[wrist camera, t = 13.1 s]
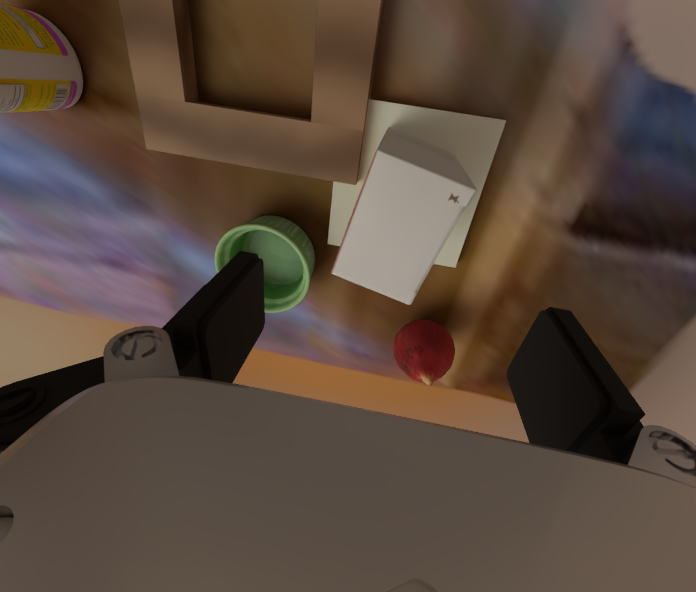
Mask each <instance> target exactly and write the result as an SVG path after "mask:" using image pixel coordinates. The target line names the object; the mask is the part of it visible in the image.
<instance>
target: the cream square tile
mask: <svg viewBox="0 0 696 592" xmlns="http://www.w3.org/2000/svg"><path fill="white" fill-rule="evenodd" d="M505 123H506V120H503V119H496V118H490V117H483V116H477V115H470V114H464V113H457V112H451V111H444V110H438V109H432V108H425V107H419V106H412V105H406V104H399V103H393V102H386V101H380V100H373V99H369V102H368V110H367V117H366V124H365V131H364V138H363V145H362V153H361V160H360V167H359V174H358V181H357V184H356V185H351V184H346V183H340V182H334V183H333V193H332V203H331V213H330V223H329V233H328V243H327V244H331V245H336V246H340V245H341V243H342V240H343V237H344V234H345V231H346V228H347V226H348V223H349V220H350V217H351V215H352V212H353V209H354V207H355V204H356V201H357V199H358V196H359V194H360V191H361V188H362V186H363V183H364V181H365V178H366V175H367V173H368V170H369V168H370V165H371V162H372V160H373V157H374V155H375V152H376V150H377V148H378V146H379V144H380V142H381V140H382V138H383V136H384V134H385V133H386V130H387V129H388V127H391V128H394V129H396V130H399V131H401V132H403V133H406V134H408V135H410V136H413V137H415V138H417V139H420V140H422V141H424V142H427V143H429V144H432V145H434V146H436V147H438V148H441V149H443V150H445V151H448V152H450V153H453V154H454V155H455V156H456V158H457V160H458V161H459V163H460V164H461V166H462V167H463V169H464V170H465V172H466V173H467V175H468V176H469V178H470V179H471V181H472V182H473V184H474V185H475V187H476V189H477V192H476V194H475V195H474V197H473V198H472V200H471V202H470V203H469V205H468V206H467V208H466V209H465V211H464V212H463V214H462V215H461V217H460V219H459V220H458V222H457V224H456V225H455V227H454V229H453V230H452V232H451V234H450V236H449V237H448V239H447V241H446V242H445V244H444V246H443V248H442V249H441V251H440V253H439V255H438V256H437V258H436V260H435V262H434V263H433V264H438V265H443V266H449V267H454V268H455V267H456V264H457V261H458V259H459V256H460V253H461V250H462V247H463V244H464V241H465V238H466V235H467V233H468V230H469V227H470V224H471V221H472V218H473V215H474V212H475V209H476V207H477V204H478V201H479V198H480V195H481V192H482V189H483V186H484V184H485V181H486V178H487V175H488V172H489V169H490V166H491V163H492V160H493V158H494V155H495V152H496V149H497V146H498V143H499V140H500V137H501V135H502V132H503V129H504V126H505Z"/></svg>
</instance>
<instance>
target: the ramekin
mask: <svg viewBox="0 0 696 592" xmlns="http://www.w3.org/2000/svg"><path fill="white" fill-rule="evenodd" d="M239 251H245V252H251V253H256V254H258V257H259V258H260V259H263V264H264V306H265V312H273V313H274V312H282V311H286V310H289V309H291V308H293V307H295V306H296V305H298V304H299V303H300V302H301V301H302V300H303V299H304V297H305V296H306V294H307V292H308V289H309V286H310V280H311V275H312V273H313V270H314V265H315V253H314V249H313V245H312V243H311V241H310V239H309V238H308V236H307V235H306V233H305V232H304V231H303V230H302V229H301V228H300V227H299V226H297V225H296V224H295V223H293V222H291V221H290V220H287V219H285V218H282V217H278V216H270V215H267V216H261V217H258V218H255V219H253V220H251V221H249V222H247V223H246V224H242V225H239V226H237V227H234V228H233V229H231V230H229V231H228V232H227V233H226V234H225V235H224V236H223V237H222V238H221V239H220V241H219V243H218V245H217V248H216V251H215V267H216V271H217V273H218V272H219V271H220V270H221V269H222V268H223V267H224V266H225V265H226V264H227V263H228V262H229V261H230V260H231V259H232V258H233V257H234V256H235V255H236V254H237V253H238V252H239Z"/></svg>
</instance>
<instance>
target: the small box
mask: <svg viewBox="0 0 696 592" xmlns="http://www.w3.org/2000/svg"><path fill="white" fill-rule="evenodd" d="M476 192H477V189H476V187H475V185H474V184H473V182H472V181H471V179H470V178H469V176H468V175H467V173H466V172H465V170H464V169H463V167H462V166H461V164H460V163H459V161H458V160H457V158H456V156H455V155H454V154H453V153H450V152H448V151H445V150H443V149H441V148H438V147H436V146H434V145H432V144H429V143H427V142H424V141H422V140H420V139H417V138H415V137H413V136H410V135H408V134H406V133H403V132H401V131H399V130H396V129H394V128H391V127H388V129H387V130H386V133H385V134H384V136H383V138H382V140H381V142H380V144H379V146H378V148H377V150H376V152H375V155H374V157H373V160H372V162H371V165H370V168H369V170H368V173H367V175H366V178H365V181H364V183H363V186H362V188H361V191H360V194H359V196H358V199H357V201H356V204H355V207H354V209H353V212H352V215H351V217H350V220H349V223H348V226H347V228H346V231H345V234H344V237H343V240H342V243H341V245H340V248H339V251H338V254H337V257H336V260H335V263H334V265H333V268H332V271H331V273H332V274H334V275H336V276H339V277H341V278H343V279H346V280H348V281H351V282H353V283H356V284H358V285H361V286H363V287H366V288H368V289H371V290H373V291H376V292H378V293H381V294H383V295H386V296H388V297H391V298H393V299H395V300H398V301H400V302H403V303H405V304H408V305H411V304H412V302H413V300H414V298H415V296H416V294H417V292H418V290H419V288H420V286H421V285H422V283H423V281H424V279H425V277H426V276H427V274H428V272H429V270H430V269H431V267H432V265H433V263H434V262H435V260H436V258H437V256H438V255H439V253H440V251H441V249H442V248H443V246H444V244H445V242H446V241H447V239H448V237H449V236H450V234H451V232H452V230H453V229H454V227H455V225H456V224H457V222H458V220H459V219H460V217H461V215H462V214H463V212H464V211H465V209H466V208H467V206H468V205H469V203H470V202H471V200H472V198H473V197H474V195H475V194H476Z"/></svg>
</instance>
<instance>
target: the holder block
mask: <svg viewBox="0 0 696 592" xmlns="http://www.w3.org/2000/svg"><path fill="white" fill-rule="evenodd" d="M118 2H119V7H120V12H121V18H122V23H123V28H124V33H125V38H126V44H127V49H128V54H129V59H130V64H131V70H132V75H133V80H134V85H135V90H136V96H137V101H138V106H139V111H140V116H141V122H142V127H143V132H144V137H145V142H146V148H147V149H149V150H155V151H161V152H166V153H172V154H178V155H184V156H190V157H195V158H201V159H207V160H213V161H218V162H224V163H230V164H236V165H242V166H247V167H253V168H259V169H265V170H271V171H276V172H282V173H288V174H294V175H299V176H305V177H311V178H317V179H323V180H328V181H334V182H340V183H346V184H351V185H356V184H357V181H358V174H359V167H360V160H361V153H362V145H363V138H364V131H365V124H366V117H367V110H368V102H369V99H370V98H371V91H372V83H373V76H374V69H375V62H376V55H377V48H378V41H379V34H380V27H381V20H382V13H383V6H384V0H318V8H317V26H316V43H315V60H314V77H313V94H312V112H311V119H306V118H300V117H294V116H288V115H281V114H275V113H269V112H263V111H257V110H250V109H244V108H238V107H232V106H226V105H219V104H213V103H207V102H201V101H199V98H198V89H197V79H196V69H195V60H194V50H193V41H192V31H191V22H190V12H189V2H188V0H118Z"/></svg>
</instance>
